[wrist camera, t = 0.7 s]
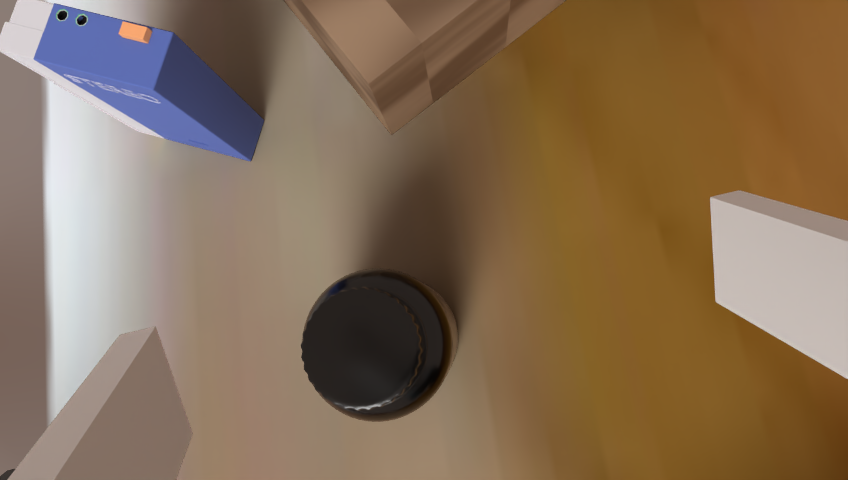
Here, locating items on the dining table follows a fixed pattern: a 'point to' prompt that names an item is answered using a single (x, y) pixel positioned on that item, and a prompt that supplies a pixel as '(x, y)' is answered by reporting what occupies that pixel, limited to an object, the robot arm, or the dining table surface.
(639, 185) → the dining table surface
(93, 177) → the dining table surface
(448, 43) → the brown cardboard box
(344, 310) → the supplement bottle
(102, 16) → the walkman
